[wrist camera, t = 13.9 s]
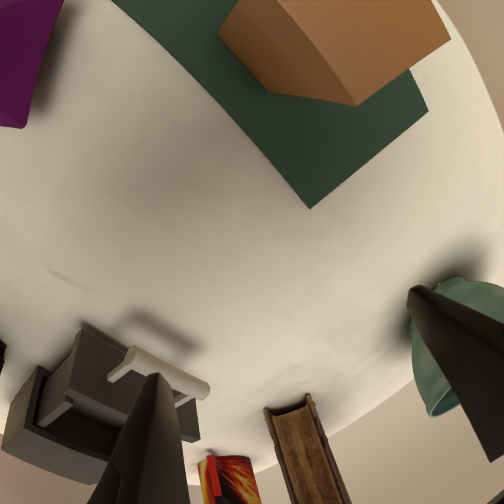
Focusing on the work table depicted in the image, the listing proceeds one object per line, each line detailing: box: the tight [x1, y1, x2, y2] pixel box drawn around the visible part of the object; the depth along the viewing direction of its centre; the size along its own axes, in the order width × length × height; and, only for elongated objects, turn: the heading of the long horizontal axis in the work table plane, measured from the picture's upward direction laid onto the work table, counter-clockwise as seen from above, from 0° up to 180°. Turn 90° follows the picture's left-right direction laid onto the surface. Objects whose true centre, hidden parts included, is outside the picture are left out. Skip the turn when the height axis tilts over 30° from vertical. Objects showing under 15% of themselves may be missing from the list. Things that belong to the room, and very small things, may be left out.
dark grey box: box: [1, 366, 110, 485], centre depth 25 cm, size 15×14×8 cm
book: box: [263, 395, 352, 504], centre depth 27 cm, size 17×7×25 cm, turn 13°
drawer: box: [32, 328, 210, 456], centre depth 22 cm, size 18×12×6 cm
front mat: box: [112, 0, 428, 209], centre depth 13 cm, size 20×12×1 cm, turn 40°
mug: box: [198, 455, 262, 504], centre depth 38 cm, size 10×14×12 cm
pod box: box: [217, 0, 451, 107], centre depth 9 cm, size 4×5×10 cm
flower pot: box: [410, 277, 504, 418], centre depth 26 cm, size 16×16×11 cm
